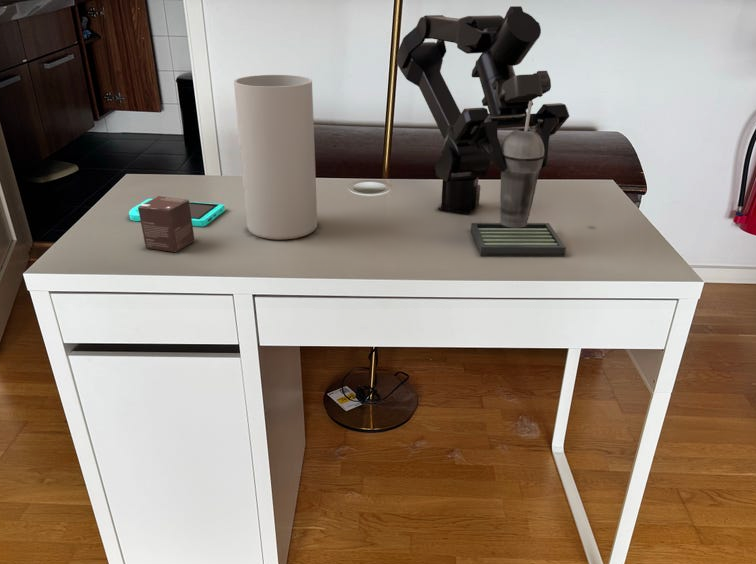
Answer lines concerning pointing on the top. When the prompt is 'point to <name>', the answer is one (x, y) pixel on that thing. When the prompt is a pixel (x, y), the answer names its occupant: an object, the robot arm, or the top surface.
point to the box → (166, 223)
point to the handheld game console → (199, 212)
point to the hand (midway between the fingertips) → (524, 168)
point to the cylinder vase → (277, 154)
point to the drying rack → (517, 240)
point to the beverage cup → (520, 174)
